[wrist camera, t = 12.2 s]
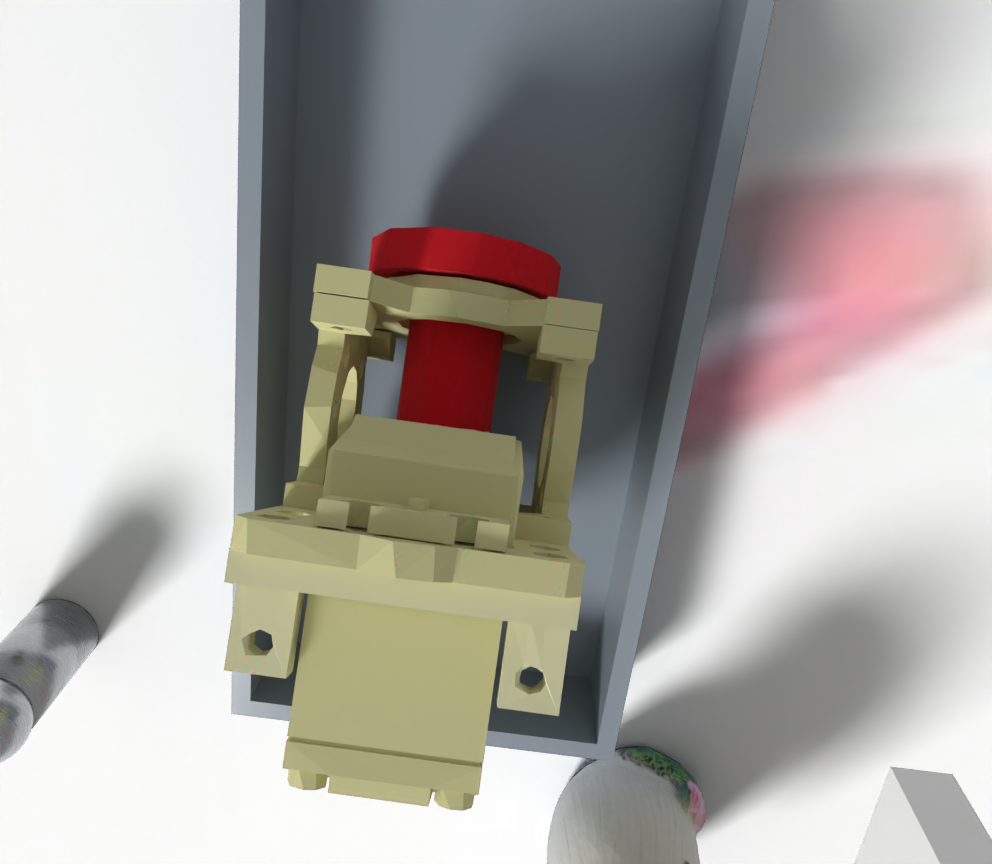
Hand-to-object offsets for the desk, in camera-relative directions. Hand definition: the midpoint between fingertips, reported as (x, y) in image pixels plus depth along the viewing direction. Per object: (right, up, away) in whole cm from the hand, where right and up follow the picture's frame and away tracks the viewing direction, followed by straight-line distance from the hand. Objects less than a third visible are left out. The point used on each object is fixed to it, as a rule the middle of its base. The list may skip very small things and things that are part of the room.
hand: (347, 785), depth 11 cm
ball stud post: (-17, -4, +26) cm, 31 cm away
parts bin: (+1, +8, +21) cm, 23 cm away
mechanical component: (+1, +7, +21) cm, 22 cm away
